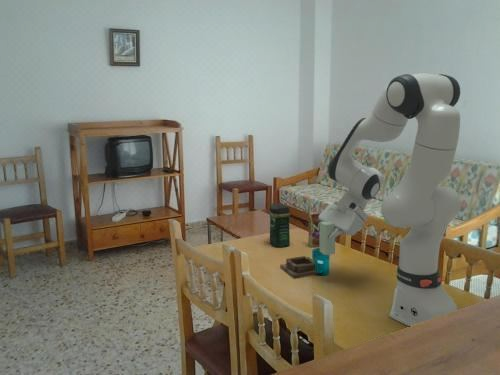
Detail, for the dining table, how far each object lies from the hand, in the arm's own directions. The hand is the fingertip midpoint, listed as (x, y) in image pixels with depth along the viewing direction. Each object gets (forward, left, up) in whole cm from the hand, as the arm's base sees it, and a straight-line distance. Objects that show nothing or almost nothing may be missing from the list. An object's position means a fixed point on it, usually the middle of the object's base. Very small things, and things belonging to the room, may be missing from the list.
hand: (325, 237), depth 170 cm
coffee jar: (+44, -3, -17) cm, 47 cm away
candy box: (+35, -18, -17) cm, 43 cm away
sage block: (0, -1, -6) cm, 6 cm away
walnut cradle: (+12, +3, -16) cm, 21 cm away
